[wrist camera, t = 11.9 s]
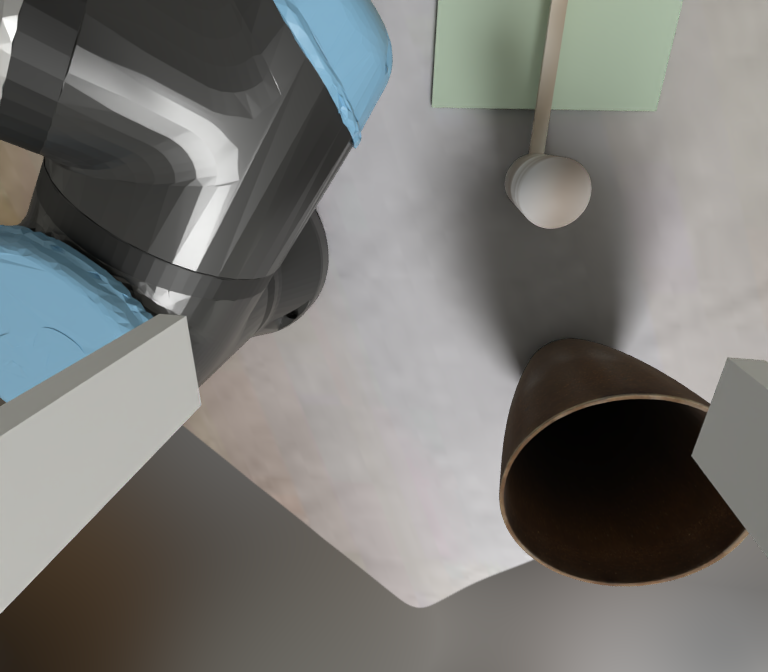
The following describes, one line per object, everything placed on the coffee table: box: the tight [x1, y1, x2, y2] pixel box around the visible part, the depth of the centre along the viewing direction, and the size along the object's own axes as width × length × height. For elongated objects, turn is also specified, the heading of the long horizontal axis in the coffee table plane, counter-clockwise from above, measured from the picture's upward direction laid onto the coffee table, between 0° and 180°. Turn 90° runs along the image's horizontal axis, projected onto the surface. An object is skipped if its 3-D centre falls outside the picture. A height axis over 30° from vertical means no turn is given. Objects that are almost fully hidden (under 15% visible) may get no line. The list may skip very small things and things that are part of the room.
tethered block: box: [505, 0, 592, 229], centre depth 27 cm, size 5×20×9 cm, turn 179°
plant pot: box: [499, 338, 749, 586], centre depth 34 cm, size 15×15×16 cm
